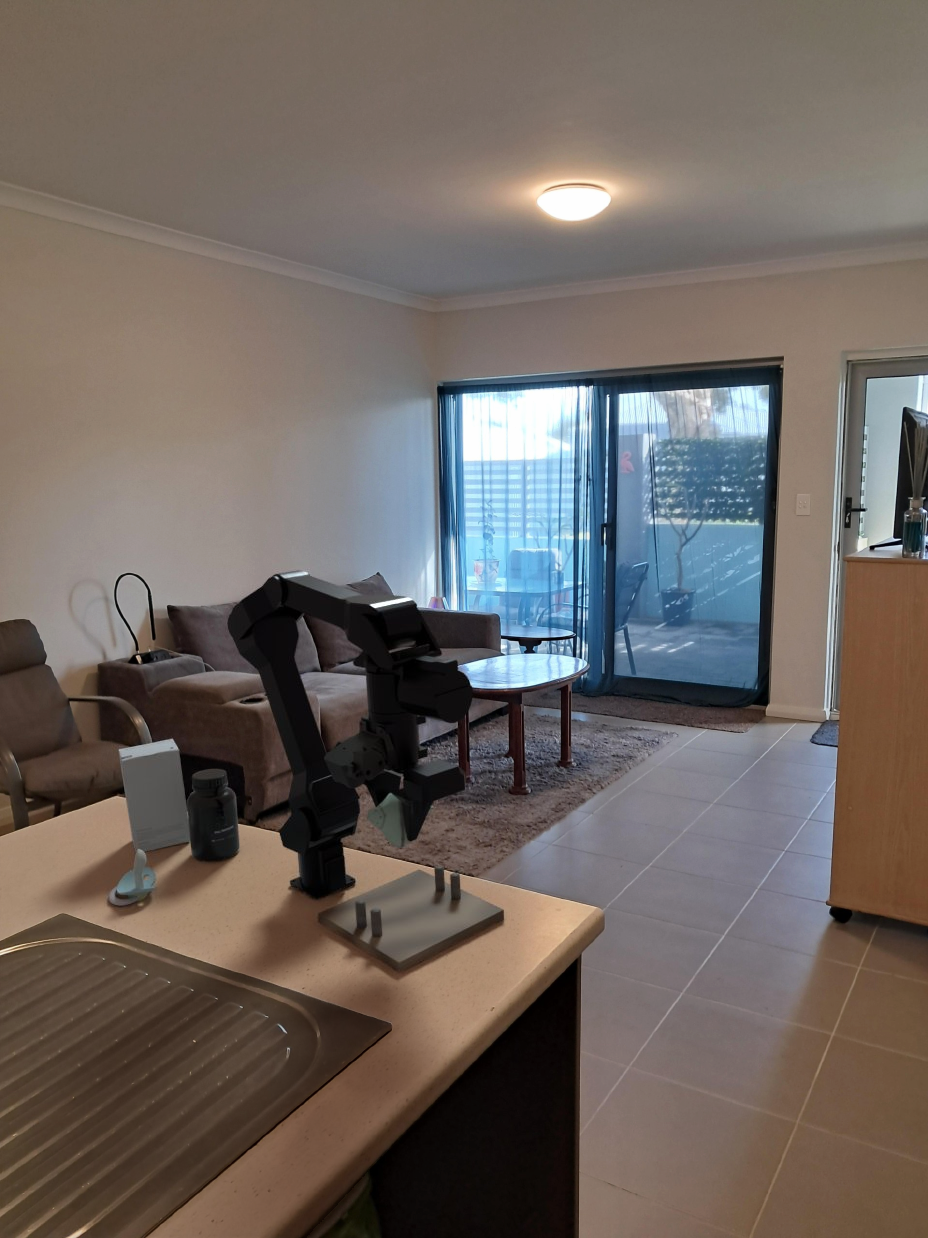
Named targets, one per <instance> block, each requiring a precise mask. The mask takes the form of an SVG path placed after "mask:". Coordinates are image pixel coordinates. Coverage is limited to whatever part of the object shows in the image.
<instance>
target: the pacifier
mask: <svg viewBox="0 0 928 1238" xmlns="http://www.w3.org/2000/svg"><path fill="white" fill-rule="evenodd" d="M133 862H134V863H133V869H131V870H129V871H128V872H126V873H125V874H124V875H123V876H122V877H121V879H120V880H119V882H118V885H116V886H114V888H112V889H110V892H109V894H108V900H109V902H110V903H111V904H112V905H114V906H121V907H122V906H128V905H130V904H133V903H135V902H136V901H141V900H144V899H145V898H147V896H148V895H149V893H150V892H153V891H155V890H156V886H154V885H155V883H156V880H157V879H156V878H157V875H156V873H155V872H156V871H154V870H153V868H151V867H149V866H146V865H147V855H146V853H145V852H144V851H142V850H140V849H138V850H137V852H135V856H134V861H133ZM146 877H148V878H146ZM145 878H146V879H145ZM117 895H121V896H127V897H128V898H125V899H122V898H121V899H120V898H118V897H116V896H117Z"/></svg>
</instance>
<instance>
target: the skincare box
mask: <svg viewBox="0 0 928 1238" xmlns="http://www.w3.org/2000/svg"><path fill="white" fill-rule="evenodd" d="M118 756H119V763H120V769H121V771H120V772H121V776H122V781H123V788H124V789H123V791H124V794H125V795H124V796H125V802H126V808H127V814H128V820H129V827H130V834H131V839H132V844H133V847H134V850H135V853H136V852H137V850H138V849H140V850H142V851H144V853H145V852H149V851H153V850H158V849H162V848H167V847H171V846H174V845H182V844H184V843H190V833H189V822H188V811H187V800H186V794H185V786H184V779H183V772H182V771H183V770H182V765H181V764H182V763H181V756H180V749H179V747H178V745H177V743H176V742H175V740H174V739H173V738H169V739H165V740H160V741H159V740H158V741H155V742H151V743H145V744H141V745H136V746H131V747H124V748H119V749H118Z"/></svg>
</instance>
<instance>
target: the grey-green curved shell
mask: <svg viewBox="0 0 928 1238" xmlns="http://www.w3.org/2000/svg"><path fill="white" fill-rule="evenodd" d="M434 809H435V807H434V806H433V805H432V806H431V808H430V810H429V812H428V814H427V816H429V814H431V812H432V811H433V810H434ZM366 819H367V820H368V821H369V822H370V823H371V824H372V825H373V826H374V827H375V828H377V829H378V830H379V831H381V833H382V834H383V836H384V837H385V840H386V841H387V842H389V843H390V844H391V845H392V846H394V847H396V848H400V849H402V848H404V847H406V846H408V845H410V844H411V842H410V841H408V840H407V835H406V831H405V824H404V817H403V810H402V803H401V801H400V800H399V799H397V798H396V797H395V796H394V795H393V794H392V793H389V794H388V795H387V797H386V798H385V799H384V800H383V802H382V803H380V804H379V805H378V806H377V807H374V808H370V809H369V810H368V811H367V817H366Z"/></svg>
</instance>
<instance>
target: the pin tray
mask: <svg viewBox="0 0 928 1238" xmlns="http://www.w3.org/2000/svg"><path fill="white" fill-rule="evenodd" d="M460 876H461V875H460V873H459V872H452V873H450V874H449V877H450V878H449V879H450V881H449V882H450V883H449V882H447V881H445V867H444V866H443V865H436V866H434V875H432V874H430V873H428V872H426V871H423V870H422V869H417V870H414V871H412V872H410V873H408V874H405V875H403V876H401V877H398V878H396V879H394V880H391V881H389V882H386V883H385V884H382V885H379V886H378V887H374V888H373V889H370V890H368V891H365V892H364V893H361V894H359V895H356V896H354V897H352V898H349V899H347V900H344V901H343V902H340V903H338V904H336V905H333V906H331V907H329V908H327V909H324V910H322V911H319V912H317V921H318V923H319V924H321V925H322V926H323V927H325V928H327V929H329V930H330V931H332V932H334V933H335V934H337V935H338V936H340V937H342V938H343V939H345V940H347V941H348V942H350V943H352V944H353V945H354V946H356V947H358V948H359V949H361V950H363V951H364V952H366V953H368V954H369V955H371V956H372V957H374V958H376V959H377V960H378V961H380V962H382V963H384V964H385V965H387V966H388V967H390V968H392V969H393V970H395V971H397V972H398V973H402V972H403V971H406V970H408V969H409V968H411V967H413V966H416V965H417V964H419V963H421V962H423V961H425V960H427V959H429V958H431V957H433V956H435V955H436V954H438V953H441V952H443V951H444V950H446V949H448V948H450V947H452V946H454V945H456V944H457V943H460V942H462V941H464V940H466V939H469V938H470V937H472V936H475V934H478V933H480V932H481V931H483V930H486V929H487V928H489V927H491V926H493V925H495V924H497V923H499V922H501V921H503V920H505V909H503V908H501V907H499V906H497V905H495V904H493V903H491V902H488V901H487V900H485V899H482V898H481V897H478V896H476V895H474V894H472V893H469V892H468V891H466V890H464V889H461V877H460Z"/></svg>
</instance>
